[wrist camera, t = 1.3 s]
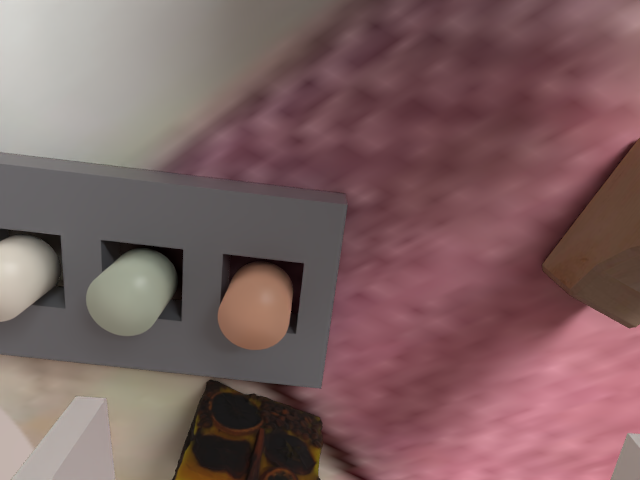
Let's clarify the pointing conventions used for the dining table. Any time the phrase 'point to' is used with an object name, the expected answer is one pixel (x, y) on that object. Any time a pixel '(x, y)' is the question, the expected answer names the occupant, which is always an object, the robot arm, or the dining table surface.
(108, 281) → the sage button
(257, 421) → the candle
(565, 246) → the decorative block
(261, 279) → the terracotta button
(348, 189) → the dining table surface
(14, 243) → the cream button
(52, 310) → the panel
